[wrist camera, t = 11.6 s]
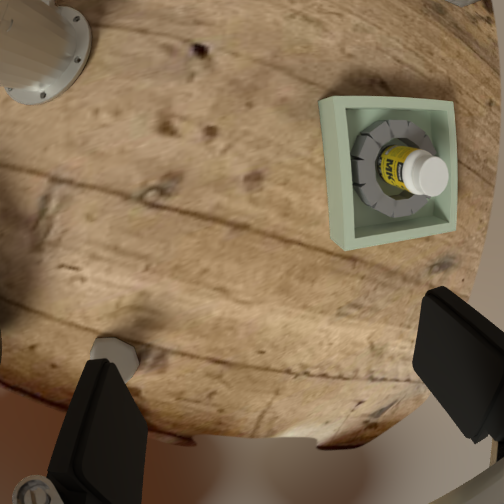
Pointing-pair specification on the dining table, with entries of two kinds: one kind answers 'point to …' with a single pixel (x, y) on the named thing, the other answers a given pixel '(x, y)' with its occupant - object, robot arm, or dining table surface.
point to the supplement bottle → (412, 170)
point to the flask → (116, 355)
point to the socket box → (365, 174)
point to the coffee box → (462, 2)
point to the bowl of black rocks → (0, 346)
